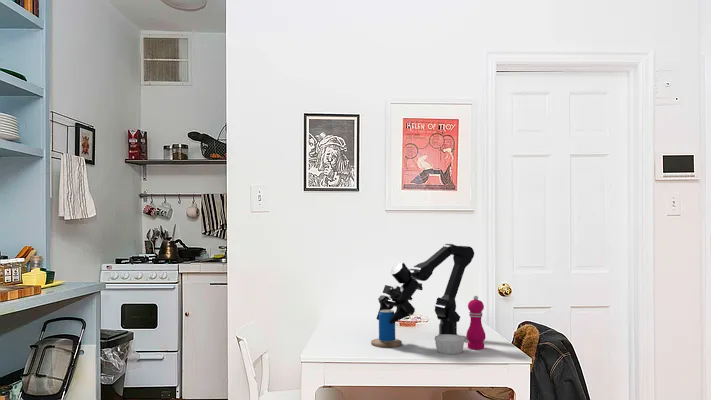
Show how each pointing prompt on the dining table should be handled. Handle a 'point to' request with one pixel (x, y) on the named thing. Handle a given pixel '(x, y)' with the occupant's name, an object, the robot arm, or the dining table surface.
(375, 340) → the walnut coaster
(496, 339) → the dining table surface
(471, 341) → the pepper mill
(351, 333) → the dining table surface
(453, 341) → the ramekin
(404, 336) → the dining table surface
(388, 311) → the beverage can
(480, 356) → the dining table surface
